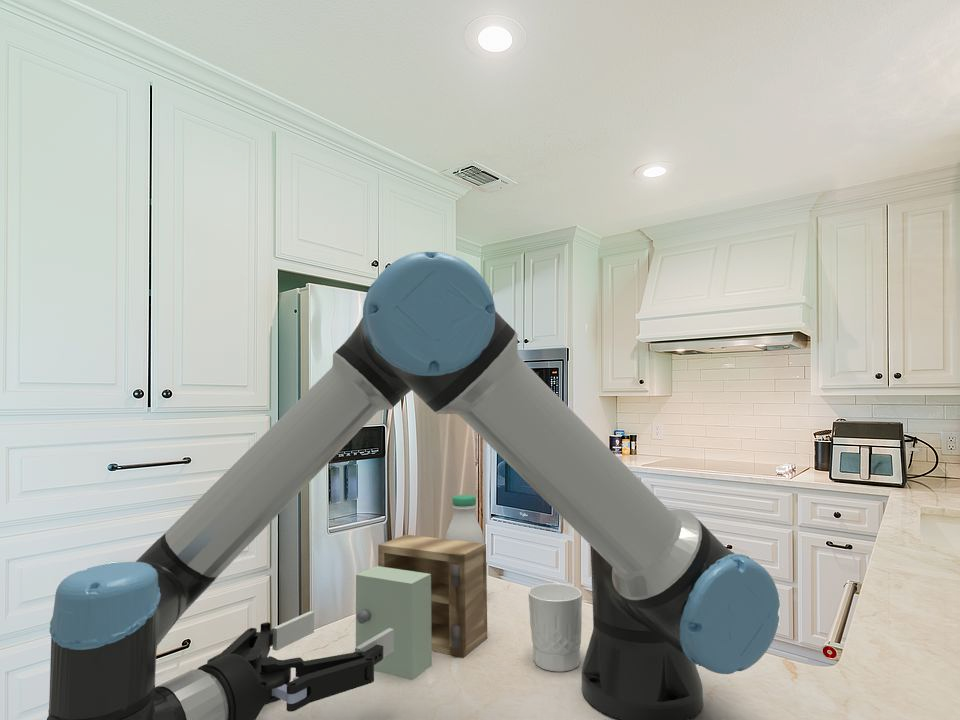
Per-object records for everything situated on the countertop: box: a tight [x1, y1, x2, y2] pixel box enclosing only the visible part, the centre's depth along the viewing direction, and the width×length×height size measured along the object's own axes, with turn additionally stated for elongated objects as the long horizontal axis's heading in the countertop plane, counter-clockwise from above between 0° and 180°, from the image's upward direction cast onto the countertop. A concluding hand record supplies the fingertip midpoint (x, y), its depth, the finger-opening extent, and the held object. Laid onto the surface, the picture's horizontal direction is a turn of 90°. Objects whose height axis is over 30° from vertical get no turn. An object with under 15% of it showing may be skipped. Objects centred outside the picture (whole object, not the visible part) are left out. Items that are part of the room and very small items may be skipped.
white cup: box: [527, 582, 583, 673], centre depth 82 cm, size 8×8×10 cm
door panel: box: [355, 565, 433, 681], centre depth 82 cm, size 10×6×13 cm, turn 62°
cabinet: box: [377, 534, 488, 658], centre depth 91 cm, size 16×9×15 cm, turn 62°
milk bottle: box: [445, 494, 485, 544], centre depth 110 cm, size 8×8×20 cm
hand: (350, 630), depth 74 cm, fingers open, 13 cm apart
